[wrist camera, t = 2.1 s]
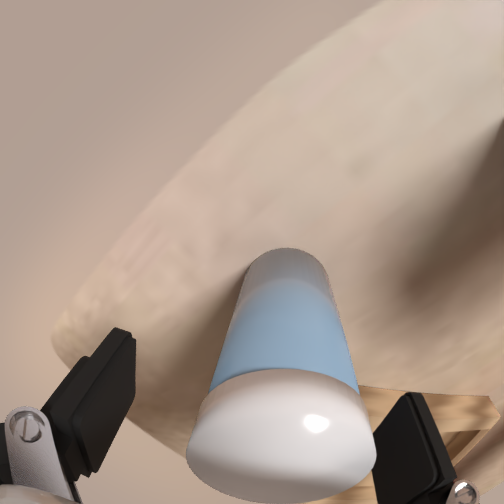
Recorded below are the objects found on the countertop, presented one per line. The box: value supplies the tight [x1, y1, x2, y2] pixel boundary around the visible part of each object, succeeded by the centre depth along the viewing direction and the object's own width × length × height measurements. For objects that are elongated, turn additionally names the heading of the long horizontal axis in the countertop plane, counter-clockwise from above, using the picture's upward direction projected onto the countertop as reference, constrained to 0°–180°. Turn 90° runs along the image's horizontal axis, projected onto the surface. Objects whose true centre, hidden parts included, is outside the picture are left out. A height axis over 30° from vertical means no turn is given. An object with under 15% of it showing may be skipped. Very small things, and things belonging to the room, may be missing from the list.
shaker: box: [186, 248, 376, 504], centre depth 12 cm, size 5×5×12 cm
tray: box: [298, 385, 500, 504], centre depth 21 cm, size 18×15×3 cm
